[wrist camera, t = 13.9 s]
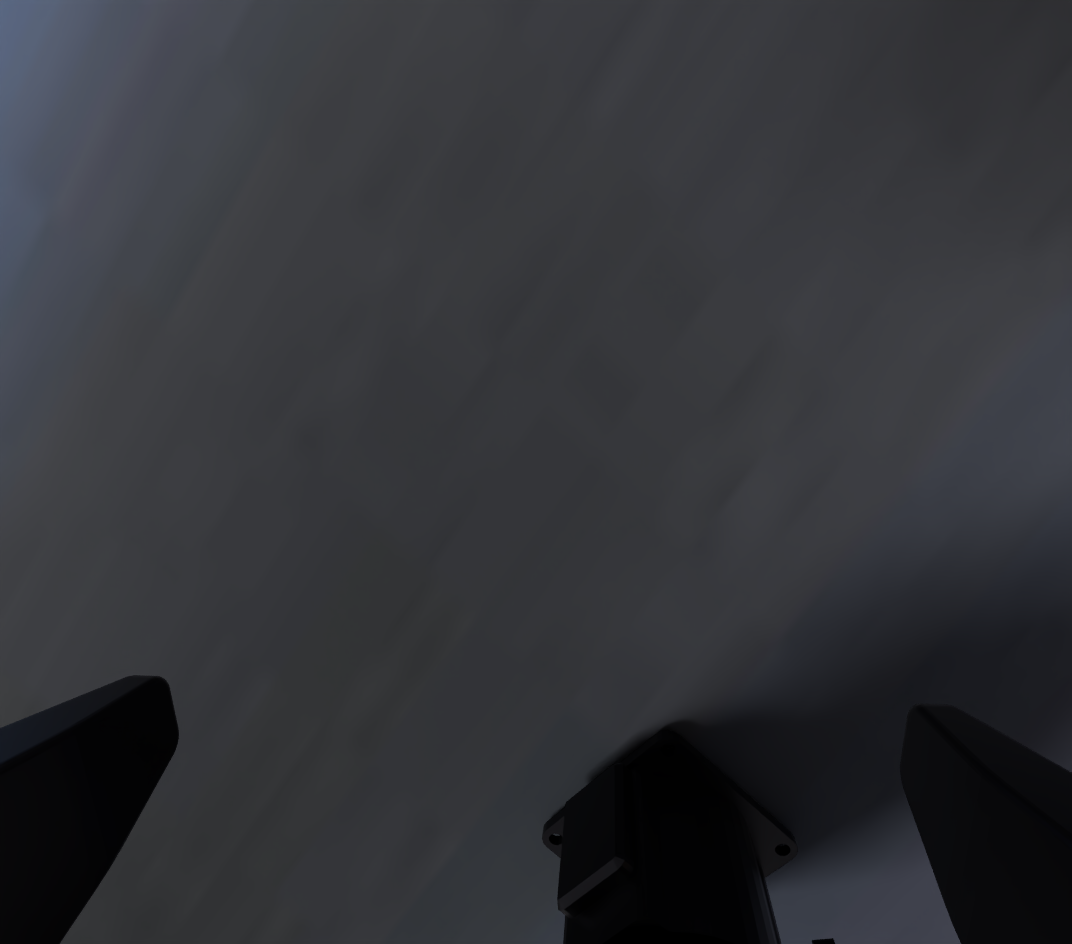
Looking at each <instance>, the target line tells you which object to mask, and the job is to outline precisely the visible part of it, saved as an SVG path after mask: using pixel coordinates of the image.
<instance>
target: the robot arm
mask: <svg viewBox="0 0 1072 944" xmlns="http://www.w3.org/2000/svg"><path fill="white" fill-rule="evenodd" d="M178 739H179V730H178V724H177V720H176V715H175V710H174V705H173V701H172V696H171V691H170V687H169V684H168V683H167V681H166V680H165V679H164V678H162V677H160V676H140V675H133V676H128V677H125V678H123V679H120V680H118V681H115V682H113V683H110V684H108V685H105V686H103V687H101V688H98V689H96V690H93V691H91V692H88V693H86V694H83V695H81V696H78V697H76V698H73V699H71V700H69V701H66V702H64V703H61V704H59V705H56V706H54V707H51V708H49V709H46V710H44V711H41V712H39V713H36V714H34V715H32V716H29V717H27V718H24V719H22V720H19V721H17V722H14V723H12V724H9V725H7V726H4V727H2V728H0V944H60V943H61V941H62V940H63V938H64V937H65V935H66V934H67V932H68V931H69V929H70V928H71V926H72V925H73V923H74V922H75V920H76V919H77V917H78V916H79V914H80V913H81V911H82V910H83V908H84V907H85V905H86V904H87V902H88V901H89V899H90V898H91V896H92V895H93V893H94V892H95V890H96V889H97V887H98V886H99V884H100V883H101V881H102V880H103V878H104V876H105V875H106V873H107V872H108V870H109V869H110V867H111V865H112V864H113V862H114V860H115V858H116V857H117V855H118V853H119V852H120V850H121V848H122V847H123V845H124V843H125V841H126V839H127V838H128V836H129V834H130V832H131V830H132V828H133V827H134V825H135V823H136V821H137V819H138V818H139V816H140V814H141V812H142V810H143V809H144V807H145V805H146V803H147V801H148V800H149V798H150V796H151V794H152V792H153V791H154V789H155V787H156V785H157V783H158V782H159V780H160V778H161V776H162V774H163V773H164V771H165V769H166V767H167V765H168V763H169V762H170V760H171V758H172V756H173V754H174V752H175V750H176V747H177V744H178ZM665 744H671V745H673V747H672V748H670V749H665V748H663V747H662V746H663V745H665ZM900 773H901V780H902V784H903V788H904V791H905V794H906V796H907V799H908V802H909V805H910V808H911V811H912V813H913V816H914V819H915V822H916V825H917V827H918V830H919V833H920V836H921V839H922V841H923V844H924V847H925V850H926V853H927V855H928V858H929V861H930V864H931V867H932V869H933V872H934V875H935V878H936V881H937V883H938V886H939V889H940V892H941V895H942V897H943V900H944V903H945V906H946V908H947V911H948V913H949V916H950V919H951V921H952V924H953V926H954V928H955V931H956V933H957V935H958V937H959V940H960V942H961V944H1072V773H1071V772H1069V771H1068V770H1066V769H1064V768H1062V767H1061V766H1059V765H1057V764H1055V763H1054V762H1052V761H1050V760H1048V759H1046V758H1045V757H1043V756H1041V755H1039V754H1038V753H1036V752H1034V751H1032V750H1031V749H1029V748H1027V747H1025V746H1024V745H1022V744H1020V743H1018V742H1016V741H1015V740H1013V739H1011V738H1009V737H1008V736H1006V735H1004V734H1002V733H1001V732H999V731H997V730H995V729H994V728H992V727H990V726H988V725H986V724H985V723H983V722H981V721H979V720H978V719H976V718H974V717H972V716H971V715H969V714H967V713H965V712H964V711H962V710H960V709H958V708H956V707H954V706H951V705H945V704H915V705H914V706H913V707H911V708H910V710H909V713H908V716H907V722H906V729H905V736H904V743H903V750H902V756H901V764H900ZM554 833H555V834H559V835H560V836H555V835H553V834H554ZM542 840H543V843H544V844H545V845H546V847H548V848H549V849H550V850H551V851H552V852H554V853H555V854H556V855H557V856H558V857H560V858H561V861H560V873H559V885H558V897H557V900H558V910H560V911H561V912H562V913H563V914H565V927H564V941H563V944H781V940H780V936H779V932H778V928H777V924H776V920H775V916H774V912H773V909H772V905H771V901H770V897H769V893H768V889H767V885H766V881H765V877H767V876H768V875H770V874H771V873H773V872H774V871H776V870H777V869H779V868H780V867H781V866H783V865H784V864H786V863H787V862H789V861H790V860H792V859H793V858H794V857H795V856H796V855H797V852H798V848H797V844H796V841H795V838H794V836H793V835H792V833H791V832H790V831H788V830H787V829H786V828H785V827H784V826H783V825H782V824H780V823H779V822H778V821H777V820H776V819H775V818H774V817H772V816H771V815H770V814H769V813H768V812H767V811H766V810H764V809H763V808H762V807H761V806H760V805H759V804H758V803H756V802H755V801H754V800H753V799H752V798H751V797H750V796H748V795H747V794H746V793H745V792H744V791H743V790H742V789H740V788H739V787H738V786H737V785H736V784H735V783H734V782H732V781H731V780H730V779H729V778H728V777H727V776H726V775H724V774H723V773H722V772H721V771H720V770H719V769H718V768H716V767H715V766H714V765H713V764H712V763H711V762H710V761H708V760H707V759H706V758H705V757H704V756H703V755H702V754H700V753H699V752H698V751H697V750H696V749H695V748H694V747H692V746H691V745H690V744H689V743H688V742H687V741H686V740H684V739H683V738H682V737H681V736H680V735H679V734H677V733H676V732H674V731H670V730H663V731H660V732H658V733H657V734H655V735H654V736H653V737H652V738H650V739H649V740H648V741H647V742H645V743H644V744H643V745H642V746H640V747H639V748H638V749H637V750H635V751H634V752H633V753H632V754H630V755H629V756H628V757H627V758H626V759H624V760H623V761H622V762H621V763H616V764H613V765H612V766H610V767H609V768H608V769H607V770H605V771H604V772H603V773H602V774H600V775H599V776H598V777H597V778H595V779H594V780H593V781H592V782H591V783H589V784H588V785H587V786H586V787H584V788H583V789H582V790H581V791H579V792H578V793H577V794H576V795H574V796H573V797H572V798H571V799H570V800H568V801H567V802H566V804H565V808H563V809H562V810H561V811H560V812H559V813H557V814H556V815H555V816H554V817H552V818H551V819H550V820H549V821H547V822H546V824H545V825H544V828H543V835H542ZM780 844H786V845H784V846H777V845H780ZM812 944H835V942H834V940H833V938H832V939H820V940H812Z"/></svg>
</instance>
